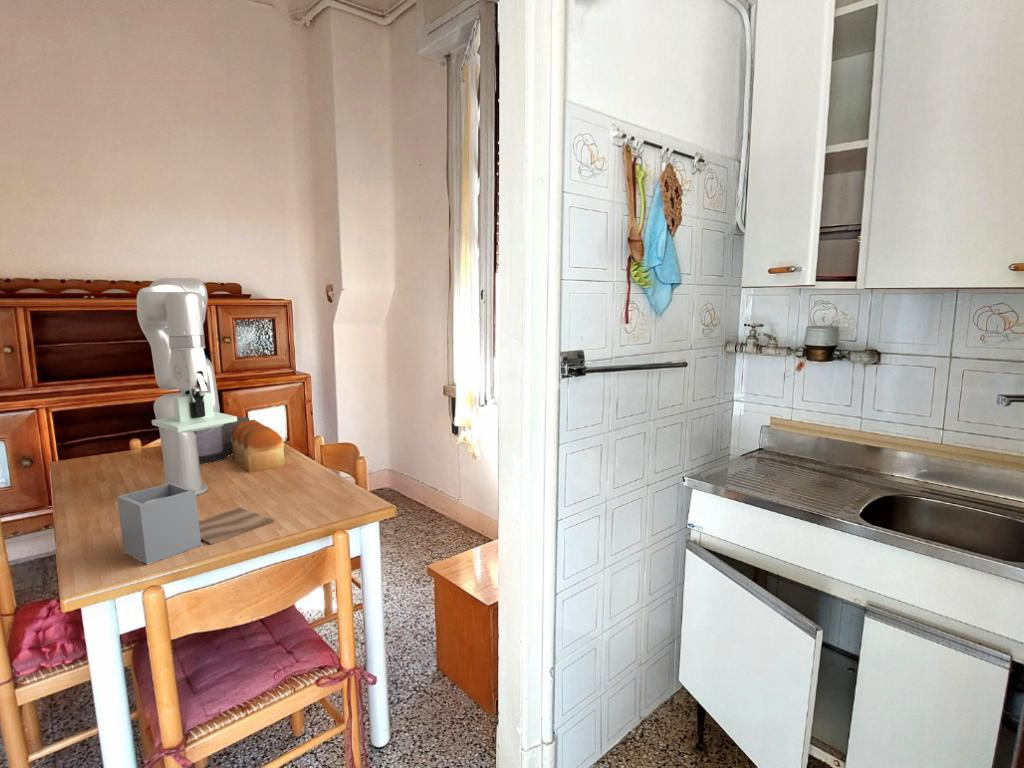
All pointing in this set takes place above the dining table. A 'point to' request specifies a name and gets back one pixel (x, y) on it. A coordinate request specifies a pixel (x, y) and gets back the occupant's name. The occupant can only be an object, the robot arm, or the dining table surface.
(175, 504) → the storage box
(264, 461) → the bread
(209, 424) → the box lid
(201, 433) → the juicer
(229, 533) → the walnut board
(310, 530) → the dining table surface
